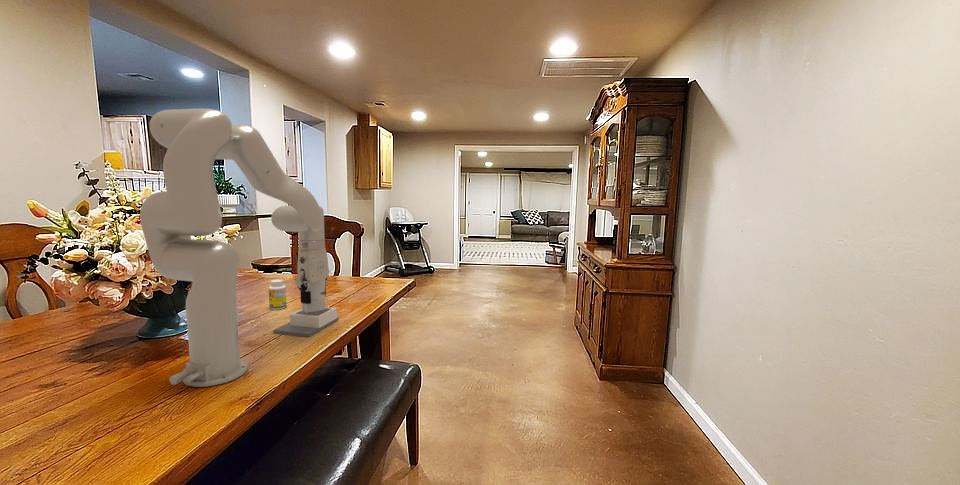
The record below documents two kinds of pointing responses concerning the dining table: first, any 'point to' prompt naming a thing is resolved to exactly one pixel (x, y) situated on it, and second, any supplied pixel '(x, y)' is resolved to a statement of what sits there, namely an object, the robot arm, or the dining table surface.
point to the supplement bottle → (277, 295)
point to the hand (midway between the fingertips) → (313, 299)
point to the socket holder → (308, 322)
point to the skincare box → (316, 296)
